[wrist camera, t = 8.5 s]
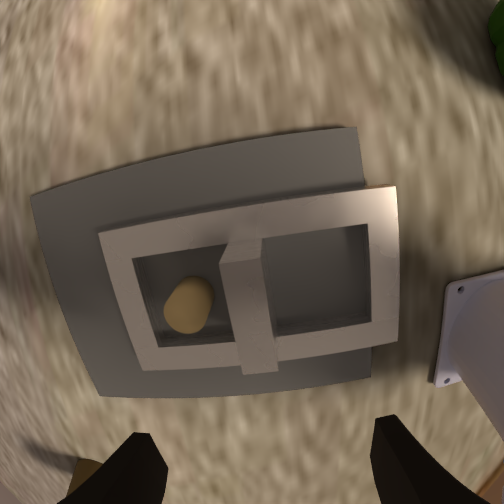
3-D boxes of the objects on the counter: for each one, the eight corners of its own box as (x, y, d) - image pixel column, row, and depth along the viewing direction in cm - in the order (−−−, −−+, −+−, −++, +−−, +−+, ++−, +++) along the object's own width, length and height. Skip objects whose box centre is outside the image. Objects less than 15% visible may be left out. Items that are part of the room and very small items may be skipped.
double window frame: (386, 183, 14) (422, 194, 10) (390, 330, 17) (416, 371, 13) (108, 227, 16) (67, 249, 12) (149, 358, 18) (125, 402, 14)
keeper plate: (351, 128, 15) (371, 121, 11) (367, 367, 18) (380, 401, 15) (39, 194, 16) (4, 203, 13) (105, 387, 20) (86, 416, 17)
